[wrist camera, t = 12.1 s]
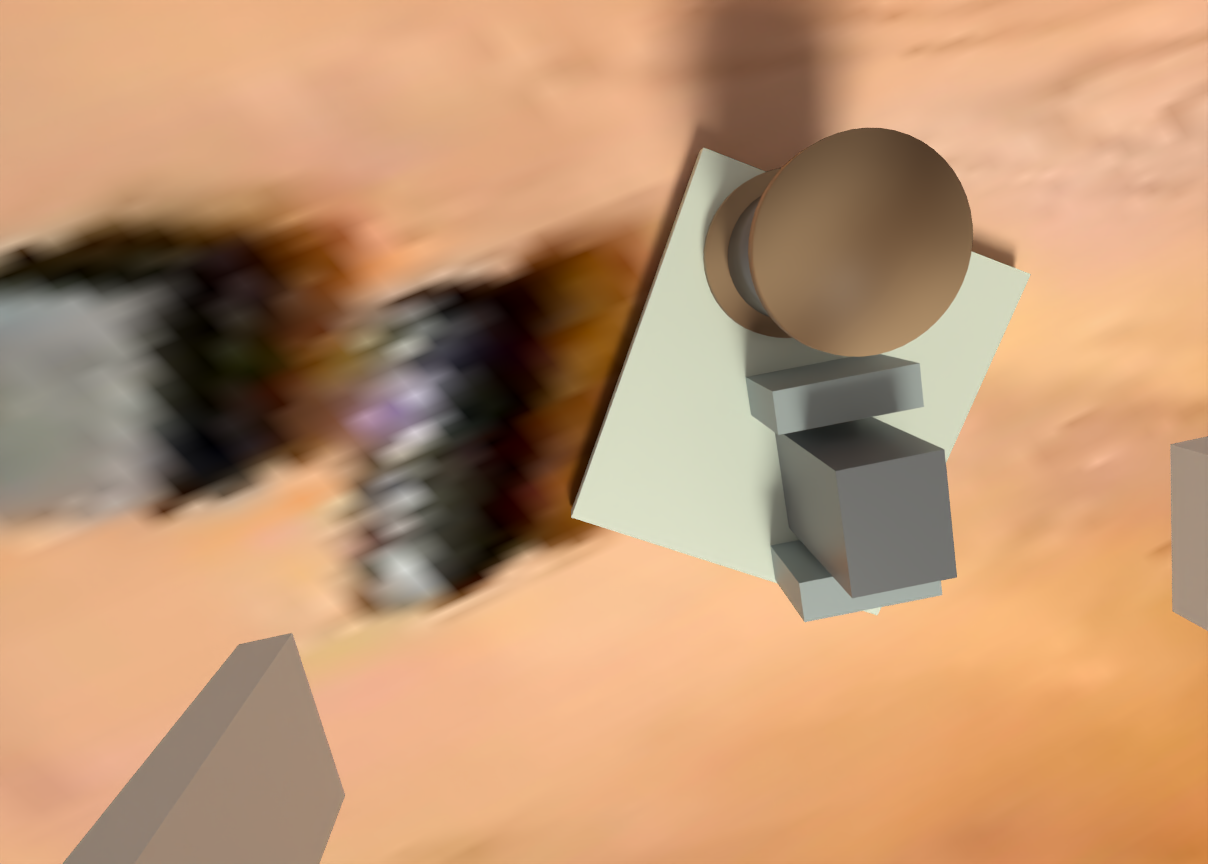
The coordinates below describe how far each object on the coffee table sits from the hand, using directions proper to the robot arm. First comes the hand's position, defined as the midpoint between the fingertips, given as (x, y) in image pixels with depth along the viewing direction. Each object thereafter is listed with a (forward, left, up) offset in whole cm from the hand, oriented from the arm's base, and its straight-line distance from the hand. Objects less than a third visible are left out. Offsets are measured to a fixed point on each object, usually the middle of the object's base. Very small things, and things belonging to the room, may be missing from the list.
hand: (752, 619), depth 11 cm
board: (+8, +2, -24) cm, 25 cm away
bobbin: (+5, +8, -24) cm, 26 cm away
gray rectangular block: (+10, -1, -23) cm, 25 cm away
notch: (+10, -1, -24) cm, 26 cm away
